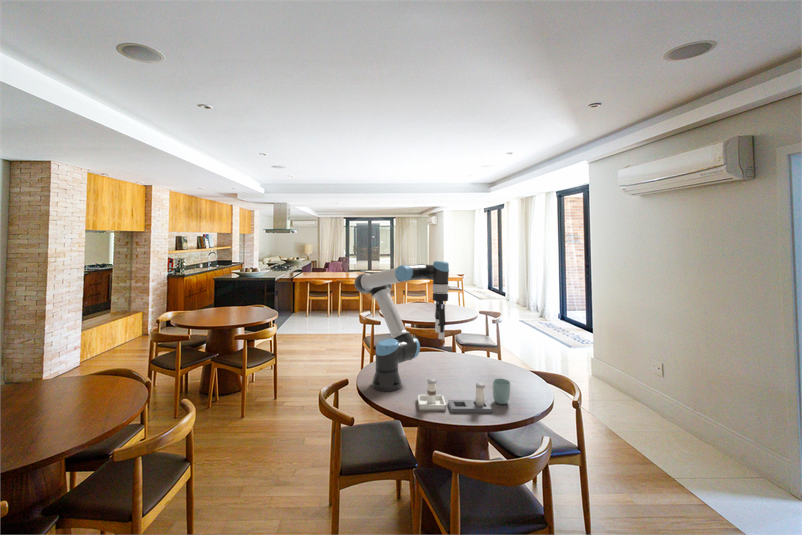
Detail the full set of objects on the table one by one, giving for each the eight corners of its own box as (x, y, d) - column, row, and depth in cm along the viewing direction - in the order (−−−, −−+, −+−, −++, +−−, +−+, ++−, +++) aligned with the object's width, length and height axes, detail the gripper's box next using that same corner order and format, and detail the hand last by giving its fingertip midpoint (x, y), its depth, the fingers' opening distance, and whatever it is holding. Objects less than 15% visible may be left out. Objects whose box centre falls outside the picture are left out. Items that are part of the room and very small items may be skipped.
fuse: (476, 410, 155) (476, 385, 155) (474, 406, 159) (474, 382, 159) (485, 410, 155) (485, 386, 155) (483, 406, 159) (483, 382, 159)
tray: (419, 410, 154) (419, 405, 154) (417, 399, 165) (417, 394, 165) (446, 410, 155) (446, 405, 154) (442, 399, 166) (442, 394, 165)
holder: (451, 412, 153) (451, 408, 152) (448, 403, 162) (448, 399, 161) (492, 412, 153) (492, 408, 153) (487, 403, 162) (487, 400, 162)
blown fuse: (427, 405, 158) (427, 381, 157) (426, 401, 162) (427, 378, 161) (436, 405, 158) (436, 381, 157) (435, 401, 162) (435, 378, 161)
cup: (489, 403, 163) (490, 381, 162) (496, 397, 169) (497, 377, 168) (506, 407, 158) (506, 386, 158) (512, 402, 164) (512, 381, 164)
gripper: (452, 296, 159) (451, 342, 160) (444, 289, 184) (443, 329, 185) (435, 296, 159) (434, 342, 160) (430, 289, 184) (429, 329, 185)
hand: (439, 335), depth 172 cm, fingers open, 13 cm apart
